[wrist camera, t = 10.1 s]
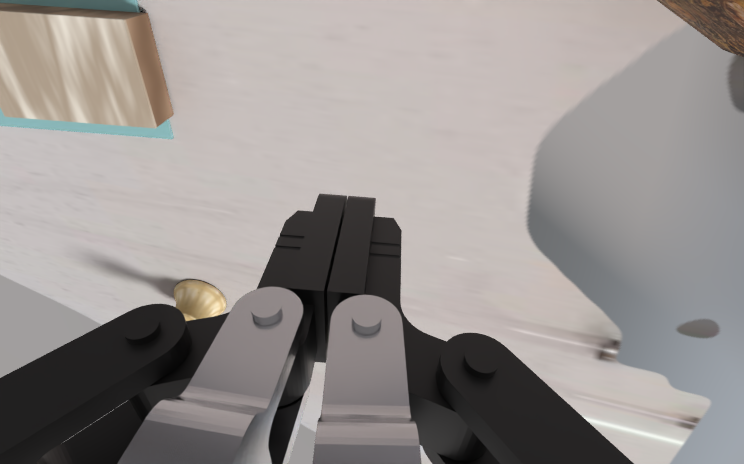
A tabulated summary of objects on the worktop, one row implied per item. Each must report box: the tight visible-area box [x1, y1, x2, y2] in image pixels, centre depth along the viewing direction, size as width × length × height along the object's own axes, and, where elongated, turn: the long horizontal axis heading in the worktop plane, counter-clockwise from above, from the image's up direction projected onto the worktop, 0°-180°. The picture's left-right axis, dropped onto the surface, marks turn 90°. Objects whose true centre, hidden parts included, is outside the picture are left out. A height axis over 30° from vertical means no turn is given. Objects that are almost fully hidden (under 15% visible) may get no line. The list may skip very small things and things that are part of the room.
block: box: [0, 3, 174, 128], centre depth 39 cm, size 4×10×16 cm
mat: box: [0, 0, 174, 139], centre depth 41 cm, size 22×16×1 cm
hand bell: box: [174, 280, 226, 321], centre depth 56 cm, size 8×8×16 cm
